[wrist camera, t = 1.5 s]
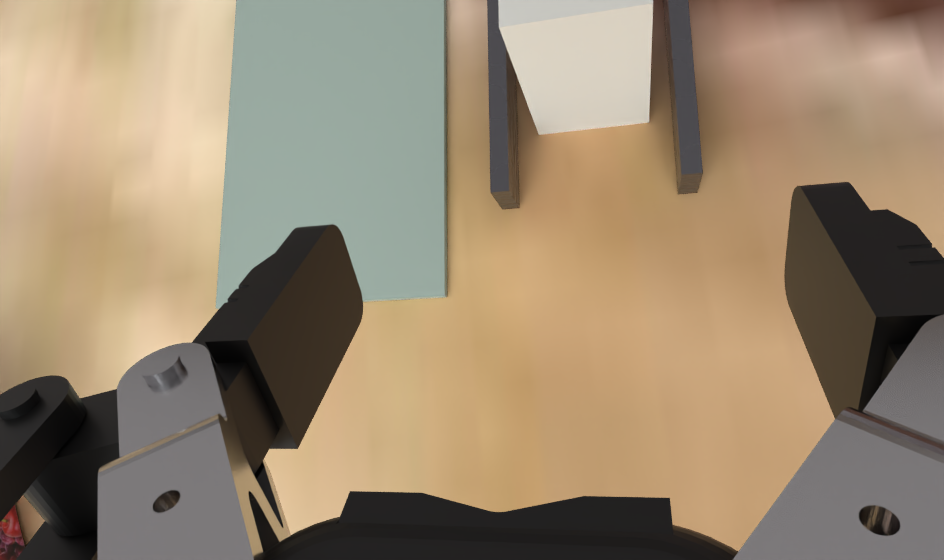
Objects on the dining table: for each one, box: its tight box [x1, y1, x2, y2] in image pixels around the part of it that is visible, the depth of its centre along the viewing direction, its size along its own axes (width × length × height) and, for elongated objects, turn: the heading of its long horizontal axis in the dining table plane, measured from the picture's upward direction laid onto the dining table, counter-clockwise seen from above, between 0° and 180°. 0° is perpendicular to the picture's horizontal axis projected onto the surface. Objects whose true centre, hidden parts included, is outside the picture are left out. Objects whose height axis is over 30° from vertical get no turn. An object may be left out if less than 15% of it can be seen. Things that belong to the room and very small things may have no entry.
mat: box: [216, 0, 447, 309], centre depth 33 cm, size 12×20×1 cm, turn 1°
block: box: [498, 0, 653, 135], centre depth 26 cm, size 5×5×9 cm
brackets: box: [487, 0, 703, 209], centre depth 29 cm, size 9×12×2 cm
